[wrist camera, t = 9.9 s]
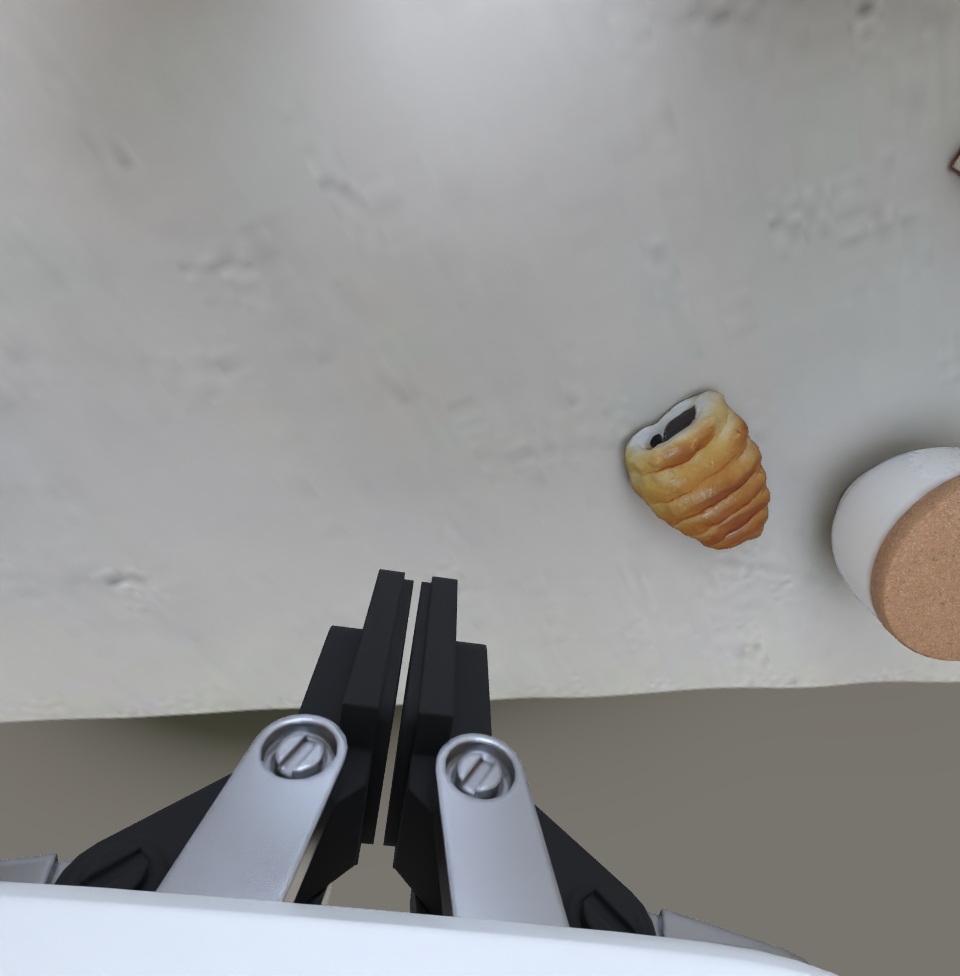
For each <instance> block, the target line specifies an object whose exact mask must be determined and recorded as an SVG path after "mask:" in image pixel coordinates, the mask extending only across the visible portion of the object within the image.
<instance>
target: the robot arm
mask: <svg viewBox="0 0 960 976" xmlns="http://www.w3.org/2000/svg"><path fill="white" fill-rule="evenodd" d="M404 577H405V573H404V572H397V571H389V570H382V569H380V570H379V573H378V577H377V580H376V584H375V587H374V591H373V595H372V598H371V602H370V605H369V609H368V613H367V616H366V620H365V623H364V627H363V629H356V628H348V627H340V626H331V628H330V630H329V632H328V635H327V638H326V640H325V643H324V646H323V648H322V651H321V654H320V656H319V659H318V662H317V665H316V667H315V670H314V673H313V675H312V678H311V681H310V684H309V686H308V689H307V692H306V694H305V697H304V700H303V702H302V705H301V708H300V711H299V713H298V715H291V716H288V717H285V718H282V719H279V720H276V721H275V722H273V723H272V724H270V725H269V726H267V727H265V728H264V729H263V730H262V732H261V733H260V734H259V735H258V736H257V737H256V738H255V740H254V741H253V743H252V744H251V746H250V748H249V749H248V751H247V752H246V754H245V755H244V757H243V758H242V760H241V761H240V763H239V764H238V766H237V767H236V769H235V770H234V772H233V773H231V774H230V775H228V776H226V777H224V778H222V779H220V780H218V781H216V782H214V783H212V784H210V785H208V786H207V787H204V788H203V789H201V790H199V791H197V792H195V793H193V794H191V795H189V796H187V797H185V798H183V799H181V800H179V801H177V802H176V803H174V804H172V805H170V806H168V807H166V808H164V809H162V810H160V811H158V812H156V813H155V814H152V815H150V816H148V817H147V818H145V819H143V820H141V821H139V822H137V823H135V824H133V825H131V826H130V827H127V828H125V829H123V830H121V831H120V832H118V833H116V834H114V835H112V836H110V837H108V838H106V839H104V840H102V841H100V842H98V843H97V844H95V845H94V846H92V847H91V848H89V849H87V850H86V851H84V852H83V853H81V854H80V855H79V856H78V857H77V858H75V859H74V860H71V861H63V862H58V859H57V854H50V855H41V856H33V857H24V858H16V859H8V860H0V976H838V975H836V974H833V973H830V972H828V971H825V970H822V969H819V968H817V967H814V966H811V965H810V964H809V963H808V962H806V961H805V960H804V959H803V958H801V957H799V956H797V955H795V954H793V953H791V952H789V951H787V950H785V949H783V948H780V947H777V946H774V945H771V944H768V943H765V942H762V941H759V940H756V939H753V938H750V937H747V936H744V935H741V934H738V933H735V932H732V931H729V930H726V929H723V928H720V927H717V926H714V925H711V924H708V923H705V922H702V921H699V920H696V919H693V918H690V917H687V916H684V915H681V914H678V913H675V912H672V911H669V910H666V909H663V908H662V910H661V912H660V914H659V915H656V914H653V913H650V912H647V911H646V909H645V908H644V906H643V904H642V903H641V902H640V901H639V900H638V899H637V898H636V897H635V896H634V895H633V893H632V892H631V891H630V890H629V889H628V888H626V887H625V886H624V885H623V884H622V883H621V882H620V881H619V880H618V879H616V878H615V877H614V876H613V875H612V874H611V873H610V872H609V871H608V870H607V869H605V868H604V867H603V866H602V865H601V864H600V863H599V862H598V861H597V860H596V859H594V858H593V857H592V856H591V855H590V854H589V853H588V852H587V851H585V850H584V849H583V848H582V847H581V846H580V845H579V844H578V843H577V842H575V841H574V840H573V839H572V838H571V837H570V836H569V835H568V834H567V833H566V832H565V831H563V830H562V829H561V828H560V827H559V826H558V825H557V824H556V823H554V822H553V821H552V820H551V819H550V818H549V817H548V816H547V815H546V814H545V813H543V812H542V811H541V810H540V809H539V808H538V807H537V806H536V805H535V804H534V802H533V798H532V795H531V791H530V788H529V784H528V781H527V778H526V774H525V771H524V767H523V765H522V763H521V761H520V759H519V757H518V755H517V754H516V753H515V752H514V751H513V750H512V749H511V747H509V746H508V745H507V744H505V743H504V742H502V741H501V740H499V739H497V738H494V737H492V733H491V716H490V697H489V679H488V661H487V648H486V645H482V644H474V643H466V642H458V641H456V624H457V583H458V582H457V580H455V579H448V578H441V577H432V582H431V583H428V582H422V584H421V590H420V597H419V603H418V610H417V616H416V623H415V629H414V636H413V642H412V649H411V655H410V662H409V668H408V675H407V681H406V688H405V695H404V702H403V709H402V716H401V724H400V730H399V737H398V745H397V752H396V759H395V766H394V773H393V780H392V788H391V794H390V801H389V809H388V816H387V823H386V830H385V837H384V844H383V845H386V846H395V853H394V862H393V868H395V869H396V870H397V872H398V873H399V874H400V875H401V877H402V878H403V879H404V880H405V881H406V883H407V884H408V885H409V886H410V887H411V889H412V890H411V899H410V913H405V912H393V911H381V910H370V909H358V908H347V907H335V906H327V902H328V900H329V897H330V892H331V887H332V882H333V881H334V880H336V879H337V878H338V877H340V876H341V875H342V874H343V873H345V872H346V871H347V870H349V869H350V868H352V867H353V866H354V865H357V864H358V858H359V852H360V846H361V843H366V844H373V843H374V836H375V830H376V824H377V818H378V811H379V805H380V798H381V792H382V786H383V780H384V773H385V767H386V760H387V754H388V747H389V742H390V735H391V729H392V723H393V716H394V710H395V704H396V697H397V691H398V684H399V677H400V671H401V664H402V657H403V650H404V644H405V637H406V630H407V623H408V617H409V610H410V603H411V596H412V589H413V583H414V581H413V580H405V579H404Z"/></svg>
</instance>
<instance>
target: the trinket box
mask: <svg viewBox="0 0 960 976" xmlns="http://www.w3.org/2000/svg"><path fill="white" fill-rule="evenodd" d="M832 550H833V555H834V559H835V562H836V565H837V567H838V570H839V572H840V574H841V576H842V578H843V579H844V581H845V582H846V584H847V585H848V587H849V588H850V590H851V591H852V593H853V594H854V595H855V596H856V598H857V599H858V600H859V601H860V602H861V604H862V605H863V606H864V607H865V608H866V609H867V610H869V611H870V612H871V613H872V614H873V615H874V616H875V617H876V618H877V619H878V620H879V621H880V622H881V623H882V625H883V626H884V627H885V629H886V630H888V631H889V632H890V633H891V634H892V635H893V636H894V637H895V638H896V639H897V640H898V641H899V642H900V643H902V644H903V645H904V646H906V647H907V648H909V649H911V650H912V651H914V652H916V653H919V654H921V655H924V656H926V657H930V658H935V659H940V660H949V661H960V448H958V447H939V448H926V449H920V450H915V451H911V452H907V453H904V454H901V455H898V456H895V457H892V458H890V459H888V460H886V461H884V462H882V463H880V464H878V465H877V466H875V467H874V468H872V469H870V470H868V471H867V472H865V473H863V474H862V475H861V476H859V477H858V478H857V479H856V480H855V481H854V482H853V483H852V484H851V485H850V486H849V487H848V488H847V490H846V491H845V493H844V494H843V496H842V498H841V500H840V502H839V504H838V507H837V511H836V514H835V517H834V520H833V525H832Z"/></svg>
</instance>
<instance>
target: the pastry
mask: <svg viewBox="0 0 960 976" xmlns="http://www.w3.org/2000/svg"><path fill="white" fill-rule="evenodd" d="M761 459H762V456H761V453H760V451H759V447H758V446H757V445H756V444H755V443H754V442H753V441H752V440H750V437H749V436H748V427H747V425H746V423H745V422H744V420H743V419H741V418H740V417H739V416H738V415H737V414H736V413H734V412H733V411H732V410H731V408H730V407H729V406H728V405H727V403H726V402H725V399H724V396H723V395H722V394H721V393H719V392H716V391H706V392H704V393H702V394H701V395H695V396H693V397H691V398H688V399H686V400H684V401H682V402H681V403H679V404H677V405H676V406H674V407H673V408H672V409H671V410H670V411H669V412H668V413H667V414H665V415H664V416H663V417H662V418H661V419H660V420H659V422H658V423H657V424H654V425H652V426H648V427H646V428H644V429H642V430H641V431H640V432H638V433H637V434H636V435H634V436H633V437H632V438H631V440H630V442H629V444H628V445H627V447H626V450H625V463H626V467H627V470H628V473H629V476H630V482H631V485H632V488H633V489H634V491H635V492H636V493H637V494H638V495H639V496H641V497H642V498H643V499H644V500H645V502H646V503H647V504H648V505H649V506H650V507H651V508H652V510H653V511H654V513H655V514H656V515H657V516H658V517H659V518H661V519H663V520H664V521H666V522H667V523H668V524H669V525H670V526H672V527H673V528H675V529H678V530H680V531H681V532H682V533H683V534H685V535H687V536H690V537H692V538H695V539H697V540H698V541H700V542H701V543H702V544H703V545H704V546H706V547H710V548H714V549H718V550H720V549H728V548H732V547H735V546H737V545H739V544H741V543H743V542H745V541H747V540H752V539H755V538H757V537H759V536H760V535H761V533H762V531H763V528H764V524H765V522H766V521H767V519H768V507H767V506H768V502H769V501H770V492H769V489H768V488H767V486H766V473H765V471H764V469H763V468H762V465H761Z"/></svg>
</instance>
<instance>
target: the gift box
mask: <svg viewBox="0 0 960 976" xmlns="http://www.w3.org/2000/svg"><path fill="white" fill-rule="evenodd" d="M952 167H953V169H954V170H956V171H957V172H959V173H960V154H959V155H958V157H957V158H956V160H955V162H954V164H953V165H952Z"/></svg>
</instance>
